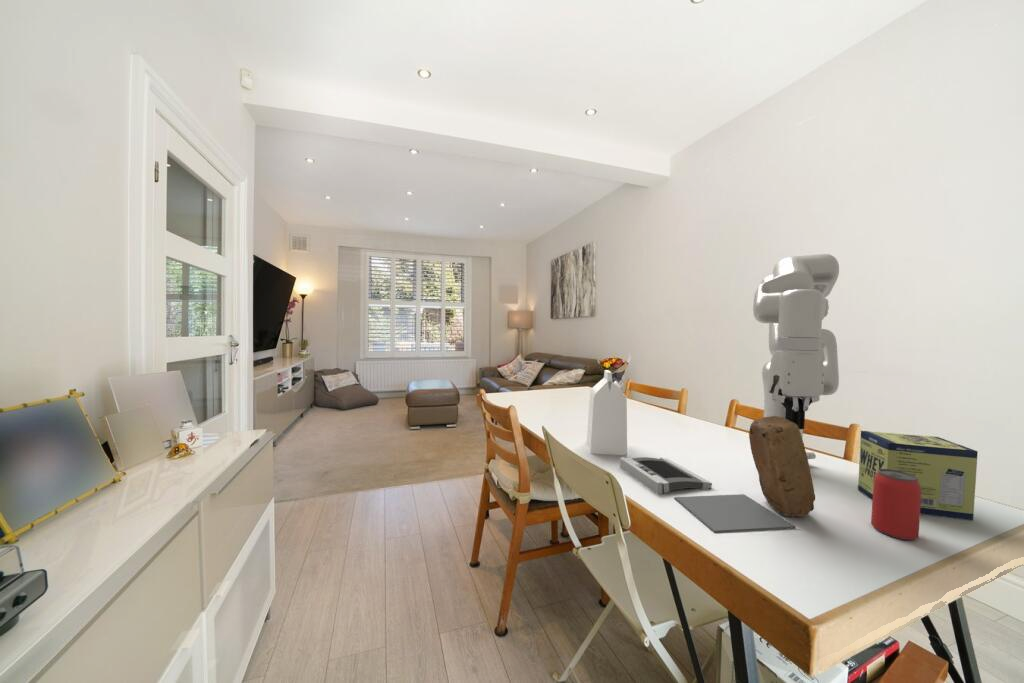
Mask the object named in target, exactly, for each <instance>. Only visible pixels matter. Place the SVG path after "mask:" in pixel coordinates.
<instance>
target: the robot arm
mask: <svg viewBox="0 0 1024 683" xmlns="http://www.w3.org/2000/svg"><path fill="white" fill-rule="evenodd" d="M839 274H840V264H839V262H838V260H837V258H836V257H835V256H833V255H832V254H830V253H829V254H828V253H822V254H810V255H807V254H806V255H795V256H793V255H792V256H789V257H785V258H782V259H781V260H778V262H776V264H775V265H774V266H773V270H772V274H770V275H767V276H765V277H764V278H763V279H762V280H761V283H760V285H759V286H758V287H757V288H756V290H755V292H754V297H753V306H752V311H753V317H754V318H755V320H756V321H757V322H759V323H762V324H768V348H769V349H768V350H769V353H770V354H771V359H770V360H769V361H767V362H766V363H764V365H763V366H762V372H761V375H762V376H761V377H762V383H763V394H764V400H763V401H764V404H763V408H764V409H763V417H771V416H778V417H782V418H786V419H788V420H789V421H791V422H794V423H796V424H797V426H798V428H799V430H800V433H801V436H802V439H804V438H803V437H804V429H805V422H806V421H805V420H806V412H807V411H808V410H809V406H811V404H813V403H816V402H819V401H820V397H821V396H832V395H834V394H836V393H837V390H838V389H839V386H840V385H839V383H840V376H839V375H840V374H839V372H840V371H839V359H838V356H839V354H838V344H837V339H836V338H837V337H836V336H835V334H834V332H832V331H831V330H829V329H827V328H822V326H823V325H822V323H823V320H824V319H825V318H826V317H827V316H828V314H829V309H830V308H829V307H830V306H829V300H828V298H827V297H828V296H829V295H830V294H831V293H832V290H833V288H834V286H835V284H836V282H837V280H838V278H839V276H840V275H839ZM806 454H807V458H808V460H815V459H816V458H817V455H816V454H815V452H812V451H811V452H810V451H809V452H807V451H806Z"/></svg>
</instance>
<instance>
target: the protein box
mask: <svg viewBox="0 0 1024 683" xmlns="http://www.w3.org/2000/svg"><path fill="white" fill-rule="evenodd" d="M859 441H860V442H859V444H860V445H859V463H858V485H857V490H858V491H859V492H861V493H862V494H863V495H864V496H866V497H868V498H869V499H871V500H872V501H873V484H874V478H875V475H876V474H877V473H878V470H879V469H892V470H898V471H902V472H906V473H909V474H912V475H914V476H916V477H917V478H918V482H919V484H920V487H921V491H922V492H921V507H920V515H928V516H934V517H935V516H936V517H941V518H942V517H944V518H950V519H956V520H957V519H958V520H963V521H965V520H966V521H974V515H975V514H974V513H975V512H974V511H975V499H976V498H975V496H976V485H977V484H976V483H977V482H976V481H977V466H978V452H979V451H977V450H975V449H972V448H970V447H967V446H964V445H962V444H958V443H956V442H953V441H950V440H948V439H945V438H941V437H939V436H930V435H917V434H907V433H906V434H904V433H895V432H893V433H892V432H891V433H890V432H880V431H868V430H861V431H860V440H859Z"/></svg>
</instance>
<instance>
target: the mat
mask: <svg viewBox="0 0 1024 683" xmlns="http://www.w3.org/2000/svg"><path fill="white" fill-rule="evenodd" d="M674 500H675V501H676V502H678V503H679V504H680V505H681V506H682V507H683V508H685V510H686V511H688V512H689V513H691V515H693V516H694V517H695V518H696V519H697V520H699V521H700V522H701V523H702V524H703V525H704V526H705V527H707V528H708V529H709V530H711V532H713V533H733V532H751V531H752V532H753V531H768V530H769V531H770V529H772V530H788V529H787V528H791V529H796V528H797V526H796V525H794V524H793V523H791V522H790V521H788V520H786V519H785V518H783V517H781V516H780V515H779V514H777V513H775V512H773V511H772V510H770V509H768V508H767V507H766V506H764V505H762V504H760V503H759V502H757V501H756V500H754V499H752V498H751V497H749V496H747V495H746V494H744V493H743V494H742V493H741V494H721V495H720V494H719V495H717V494H716V495H696V496H695V495H694V496H674Z"/></svg>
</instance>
